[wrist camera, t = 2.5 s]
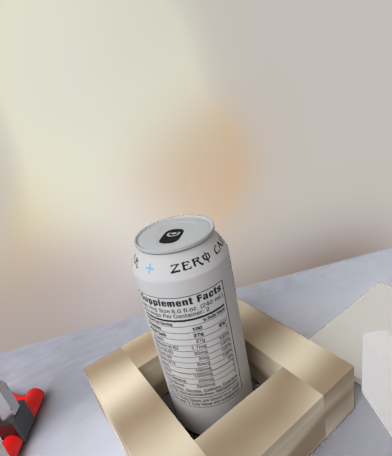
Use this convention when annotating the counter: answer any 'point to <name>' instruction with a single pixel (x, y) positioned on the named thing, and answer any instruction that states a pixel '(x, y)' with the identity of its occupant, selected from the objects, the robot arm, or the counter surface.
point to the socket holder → (244, 411)
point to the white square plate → (357, 326)
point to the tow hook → (17, 416)
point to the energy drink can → (193, 317)
